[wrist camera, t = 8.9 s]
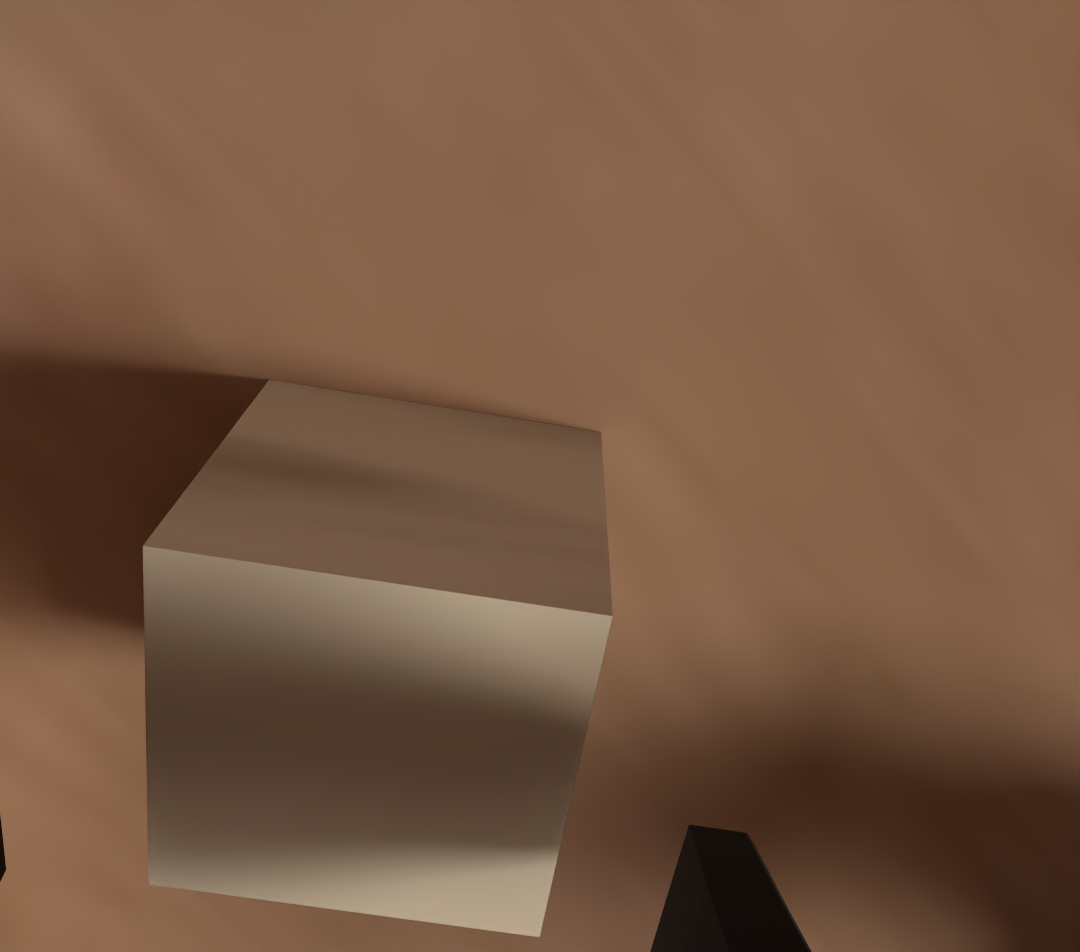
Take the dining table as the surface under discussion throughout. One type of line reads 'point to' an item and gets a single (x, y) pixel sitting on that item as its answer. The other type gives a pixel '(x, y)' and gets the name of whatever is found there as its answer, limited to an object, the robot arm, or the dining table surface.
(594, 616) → the beech cube
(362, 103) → the dining table surface
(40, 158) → the dining table surface
